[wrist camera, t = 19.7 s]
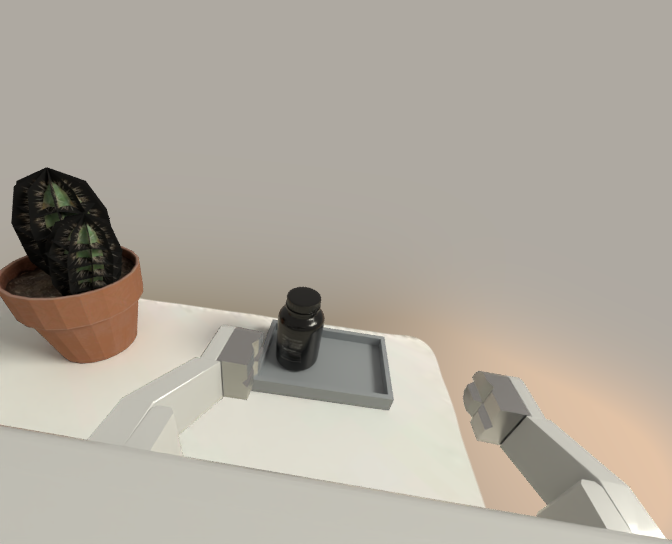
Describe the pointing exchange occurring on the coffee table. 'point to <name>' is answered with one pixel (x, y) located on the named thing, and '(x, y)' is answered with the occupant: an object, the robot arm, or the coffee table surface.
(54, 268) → the potted plant
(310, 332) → the supplement bottle
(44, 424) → the coffee table surface
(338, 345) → the grey serving tray
